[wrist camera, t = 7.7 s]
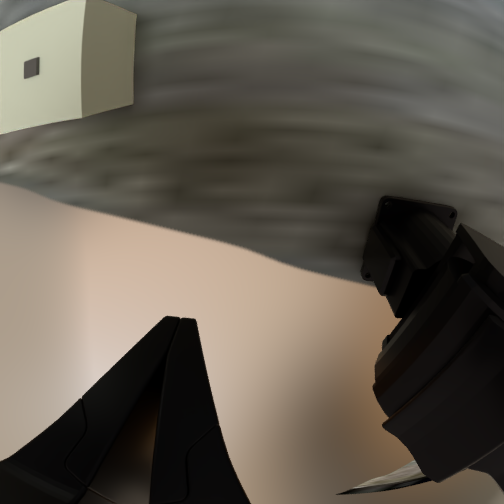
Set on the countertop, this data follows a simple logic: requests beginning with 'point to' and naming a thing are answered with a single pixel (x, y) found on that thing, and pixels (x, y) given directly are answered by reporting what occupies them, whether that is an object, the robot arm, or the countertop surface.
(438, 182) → the countertop surface
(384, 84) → the countertop surface
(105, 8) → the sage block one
